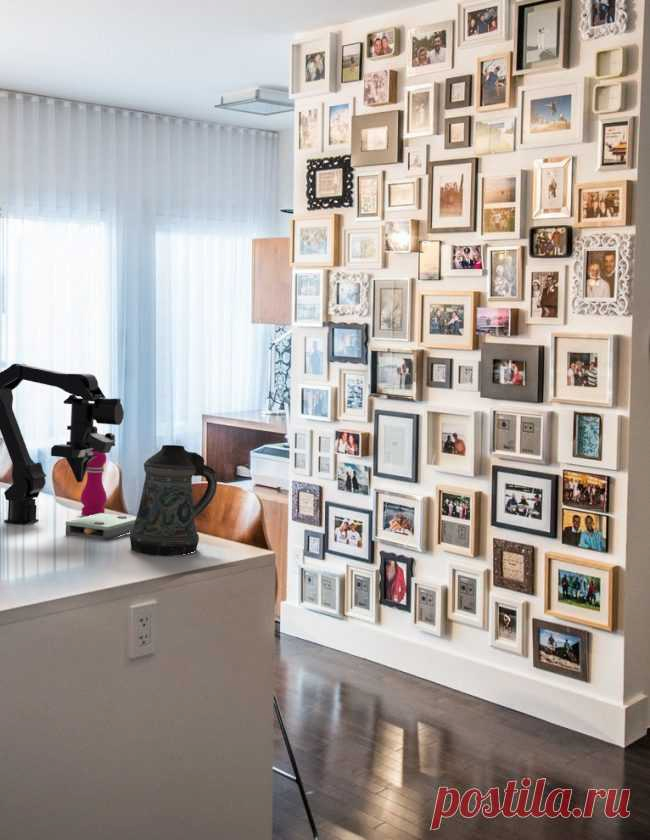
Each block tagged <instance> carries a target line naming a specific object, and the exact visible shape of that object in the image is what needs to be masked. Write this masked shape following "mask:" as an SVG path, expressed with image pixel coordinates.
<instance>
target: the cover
mask: <svg viewBox="0 0 650 840" xmlns="http://www.w3.org/2000/svg"><path fill="white" fill-rule="evenodd" d="M136 517H137V516H135V517H134V516H127V515H121V514H113V513H112V514H110V513H105V512H104V513H99V514H95V515H91V516H86V515H85V516H82V517H79V518H75V519H70V520H68V521H65V526H66V525H71V526H79V527H86V528H93V529H101V530H110V529H114V528H118V527H121V526H125V525H129V524H132V523H135V520H136Z"/></svg>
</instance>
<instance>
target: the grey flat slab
mask: <svg viewBox="0 0 650 840" xmlns="http://www.w3.org/2000/svg"><path fill="white" fill-rule="evenodd" d="M133 525H134V523H132V524H129V525H125V526H121V527H118V528H114V529H110V530H101V529H93V528H86V527H79V526H71V525H65V536H72V537H79V538H80V537H81V538H87V539H88V538H89V539H93V540H100V539H102V540H101V541H110V540H113V539H112V538H114V539H116V538H115V537H117V538H119V537H118V536H120V535H123V534H126V533H129V532H131V530H132V528H133ZM109 539H110V540H109Z"/></svg>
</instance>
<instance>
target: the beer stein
mask: <svg viewBox="0 0 650 840" xmlns="http://www.w3.org/2000/svg"><path fill="white" fill-rule="evenodd" d="M143 470H144V473H145V476H144V477H145V478H144V482H143V486H142V492H141V498H140V503H139V507H138V511H137V514H136V516H135V517H136V520H135V523H134V525H133V528H132V530H131V532H130V534H129V541H130V542H129V543H130V550H131V551H132V550H133V552H134V551H135V553H136V554H140V553H141V555H147V556H155V557H156V556H157V557H175V556H174V555H183V554H188V553H191V552H194V551H196V552H197V549H198V544H199V541H200V535H199V533H198V531H197V528H196V524H195V522H196V521H195V519H196V518H197V517H198V516H199V515H201V513H203V512H204V511H205V510H206V509H207V507H208V506H209V504H210V503H211V502H212V500H213V499H214V497H215V495H216V492H217V488H218V480H217V475H216V471H215V469H214V468H213V467H210V466H209V465H207V464H205V459H204V457H203V456H201V455H200V454H199V453H197V452H192V451H188V450H186V448H185V445H175V444H172V445H171V444H164V445H163V444H162V446H161V449H160V450H158V451H157V452H156V453H155V454H154V455H152V456H150V457H148V458H147V459H146V460H145V462H144V463H143ZM193 476H194V477H204V478H205V480H206V481H207V486H206V489H205V490H204V492H203V494H202V496H201V497H200V498H199V499H198V500H197V501H196V502H195V503H194V492H193V480H192V479H193ZM183 556H184V555H183Z"/></svg>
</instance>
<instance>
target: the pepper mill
mask: <svg viewBox="0 0 650 840" xmlns="http://www.w3.org/2000/svg"><path fill="white" fill-rule="evenodd" d="M92 452H93V455H97V457H95V458H94V459H93V460H91V461H90V463H89V465H88V468H87V470H86V474H87V478H86V483H85V486H84V488H83V489H82V492H81V495H80V503H81V504H82V505H83V507H82V508H81V515H82V514H83V516H86V515H95V514H99V513H105V507H103V506H105V504H106V503H107V499H108V497H107V491H106V490H105V487H104V485H103V473H104V472H105V467H104V465H105V464H106V462H107V455H106V453H99V452H97V451H92Z"/></svg>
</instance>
